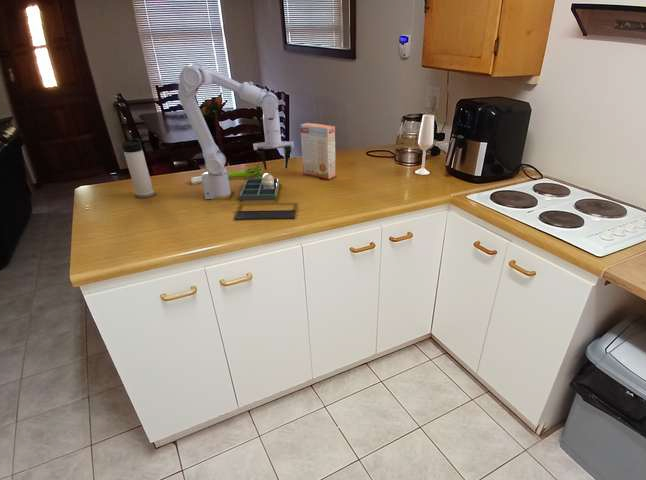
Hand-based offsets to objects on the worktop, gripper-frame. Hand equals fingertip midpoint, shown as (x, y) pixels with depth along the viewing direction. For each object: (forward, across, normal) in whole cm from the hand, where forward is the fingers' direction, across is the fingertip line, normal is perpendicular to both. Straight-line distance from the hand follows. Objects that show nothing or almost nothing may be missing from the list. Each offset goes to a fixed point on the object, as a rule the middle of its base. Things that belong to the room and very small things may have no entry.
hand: (275, 168), depth 154 cm
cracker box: (+10, +21, +19) cm, 30 cm away
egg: (+9, -3, +1) cm, 10 cm away
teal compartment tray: (+10, -6, +2) cm, 12 cm away
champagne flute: (+10, +67, +12) cm, 69 cm away
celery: (+10, -18, +20) cm, 29 cm away
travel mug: (+10, -49, +11) cm, 52 cm away
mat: (+10, -6, -17) cm, 21 cm away
